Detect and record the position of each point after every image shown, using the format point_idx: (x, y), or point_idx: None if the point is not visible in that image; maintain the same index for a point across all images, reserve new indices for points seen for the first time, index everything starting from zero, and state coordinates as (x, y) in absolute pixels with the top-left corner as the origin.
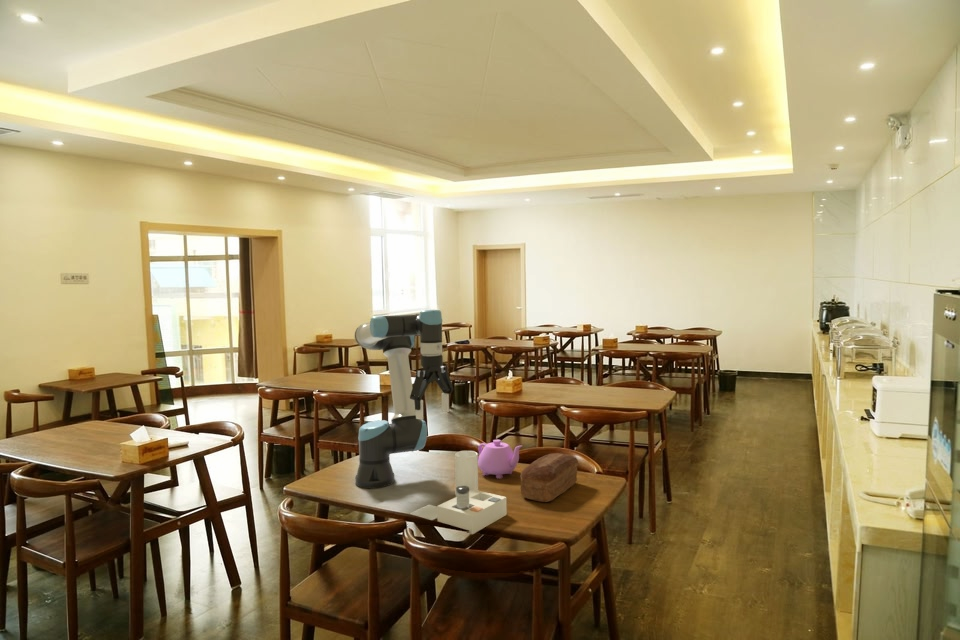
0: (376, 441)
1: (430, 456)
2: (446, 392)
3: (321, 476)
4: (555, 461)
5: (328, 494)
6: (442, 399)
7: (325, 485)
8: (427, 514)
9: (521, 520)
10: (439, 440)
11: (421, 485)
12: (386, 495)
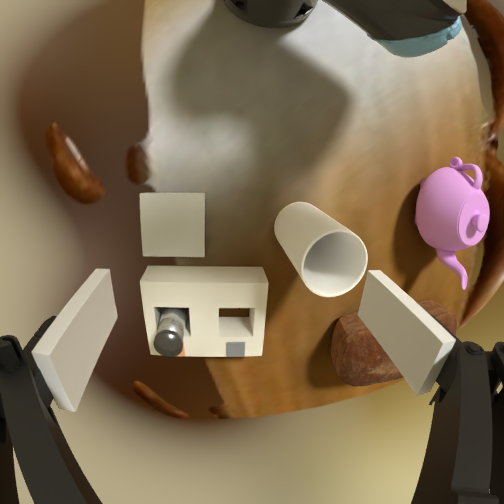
0: None
1: None
2: (442, 381)
3: None
4: (400, 374)
5: None
6: (410, 322)
7: None
8: (158, 229)
9: (249, 361)
10: (498, 28)
11: (310, 90)
12: (211, 61)
